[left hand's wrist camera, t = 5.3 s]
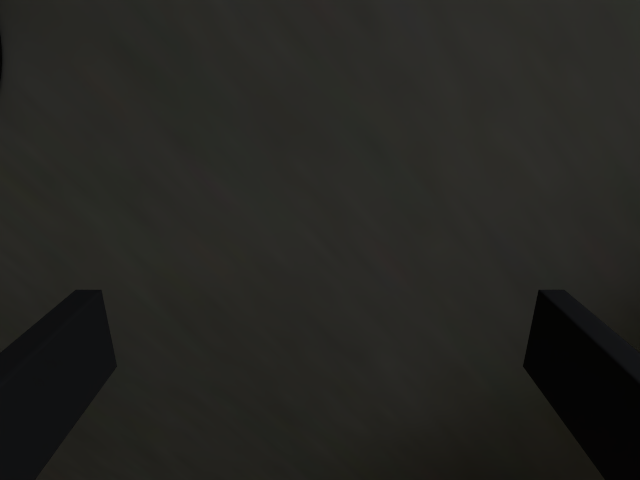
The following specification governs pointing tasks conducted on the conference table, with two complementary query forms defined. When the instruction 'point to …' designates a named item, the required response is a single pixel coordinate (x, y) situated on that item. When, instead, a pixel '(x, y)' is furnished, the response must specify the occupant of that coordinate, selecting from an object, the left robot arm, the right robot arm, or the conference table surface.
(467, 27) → the conference table surface
